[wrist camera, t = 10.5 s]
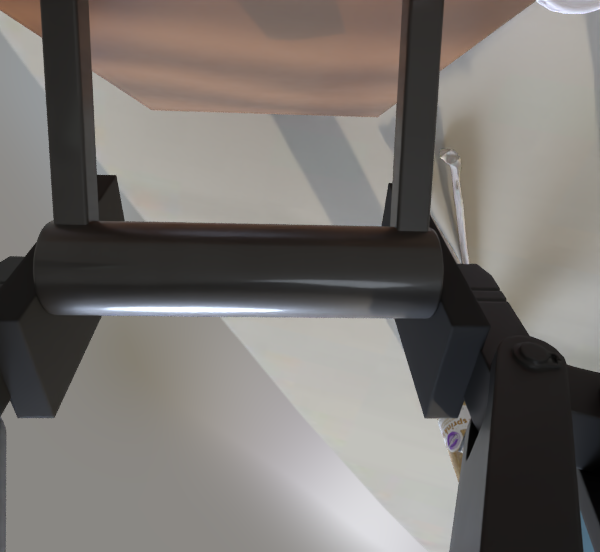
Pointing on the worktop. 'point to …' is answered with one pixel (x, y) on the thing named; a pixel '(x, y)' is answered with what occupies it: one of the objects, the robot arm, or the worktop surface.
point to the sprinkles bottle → (455, 436)
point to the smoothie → (571, 6)
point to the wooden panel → (247, 99)
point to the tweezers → (456, 203)
